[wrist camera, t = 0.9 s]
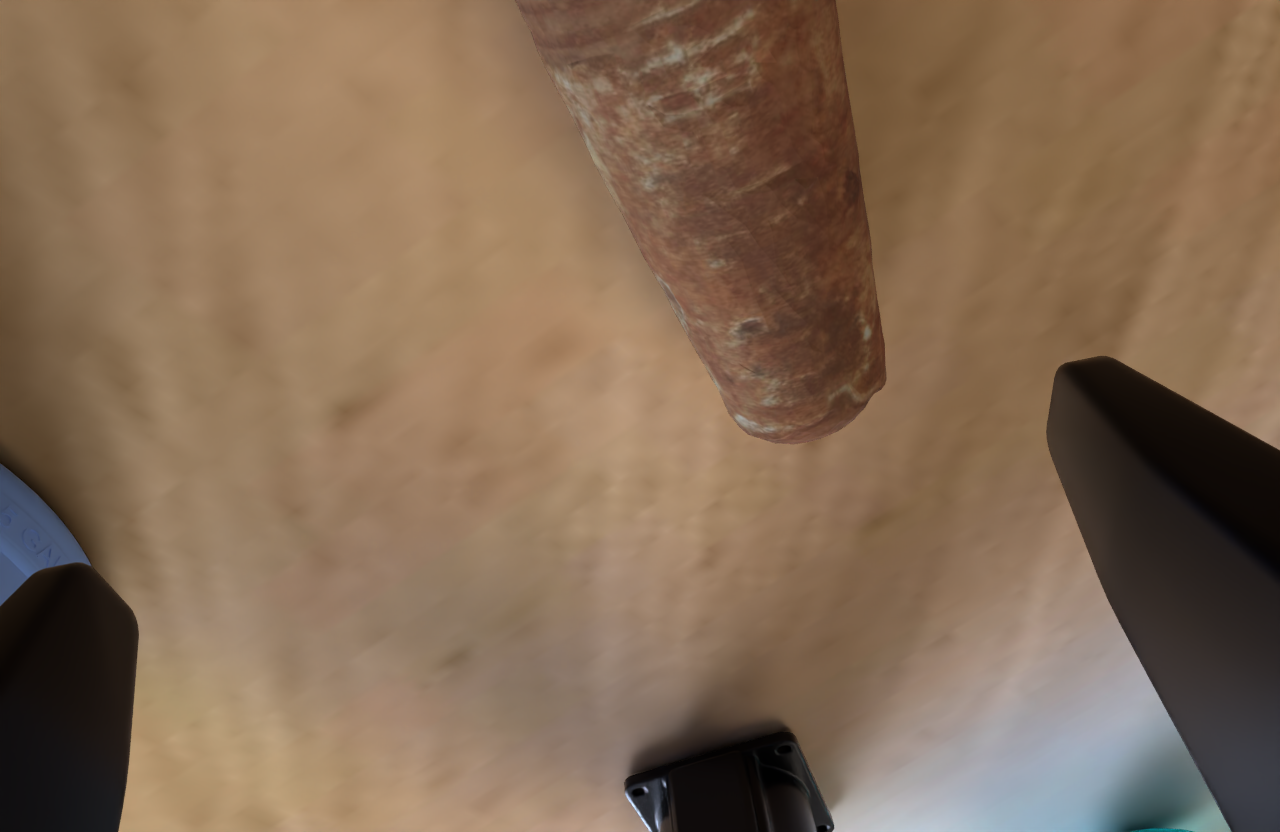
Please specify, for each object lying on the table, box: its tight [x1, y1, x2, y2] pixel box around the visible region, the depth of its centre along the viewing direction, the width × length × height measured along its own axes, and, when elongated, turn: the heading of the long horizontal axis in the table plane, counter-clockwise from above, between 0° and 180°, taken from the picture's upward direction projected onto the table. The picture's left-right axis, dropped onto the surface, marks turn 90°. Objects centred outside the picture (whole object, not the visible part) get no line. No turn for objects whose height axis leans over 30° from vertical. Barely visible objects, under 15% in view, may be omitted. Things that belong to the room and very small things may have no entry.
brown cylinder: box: [515, 0, 886, 444], centre depth 18 cm, size 6×19×6 cm, turn 18°
